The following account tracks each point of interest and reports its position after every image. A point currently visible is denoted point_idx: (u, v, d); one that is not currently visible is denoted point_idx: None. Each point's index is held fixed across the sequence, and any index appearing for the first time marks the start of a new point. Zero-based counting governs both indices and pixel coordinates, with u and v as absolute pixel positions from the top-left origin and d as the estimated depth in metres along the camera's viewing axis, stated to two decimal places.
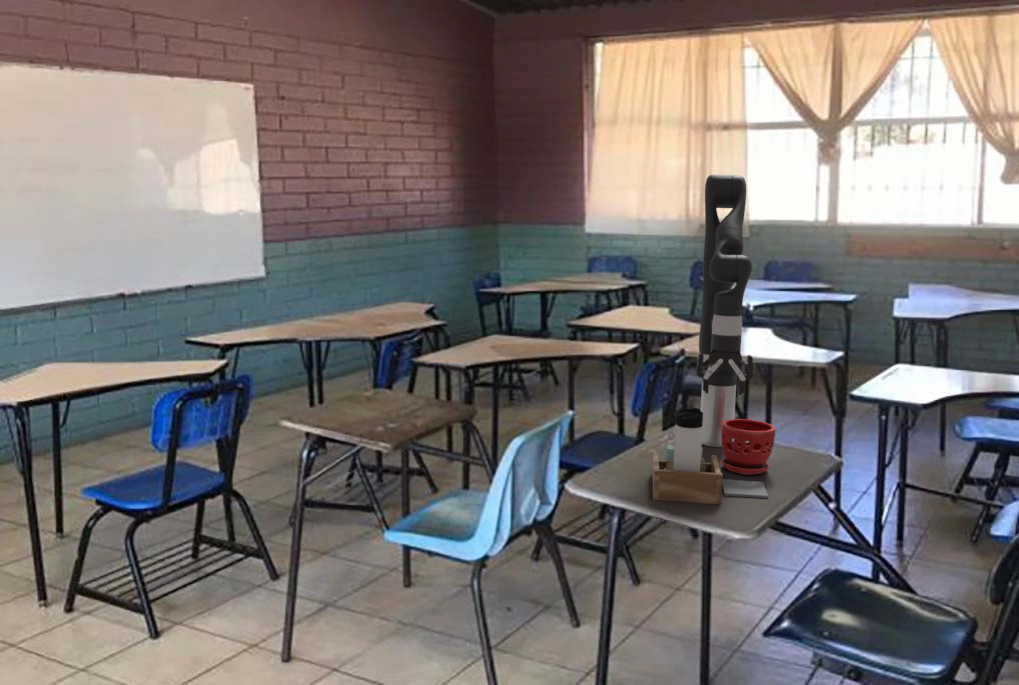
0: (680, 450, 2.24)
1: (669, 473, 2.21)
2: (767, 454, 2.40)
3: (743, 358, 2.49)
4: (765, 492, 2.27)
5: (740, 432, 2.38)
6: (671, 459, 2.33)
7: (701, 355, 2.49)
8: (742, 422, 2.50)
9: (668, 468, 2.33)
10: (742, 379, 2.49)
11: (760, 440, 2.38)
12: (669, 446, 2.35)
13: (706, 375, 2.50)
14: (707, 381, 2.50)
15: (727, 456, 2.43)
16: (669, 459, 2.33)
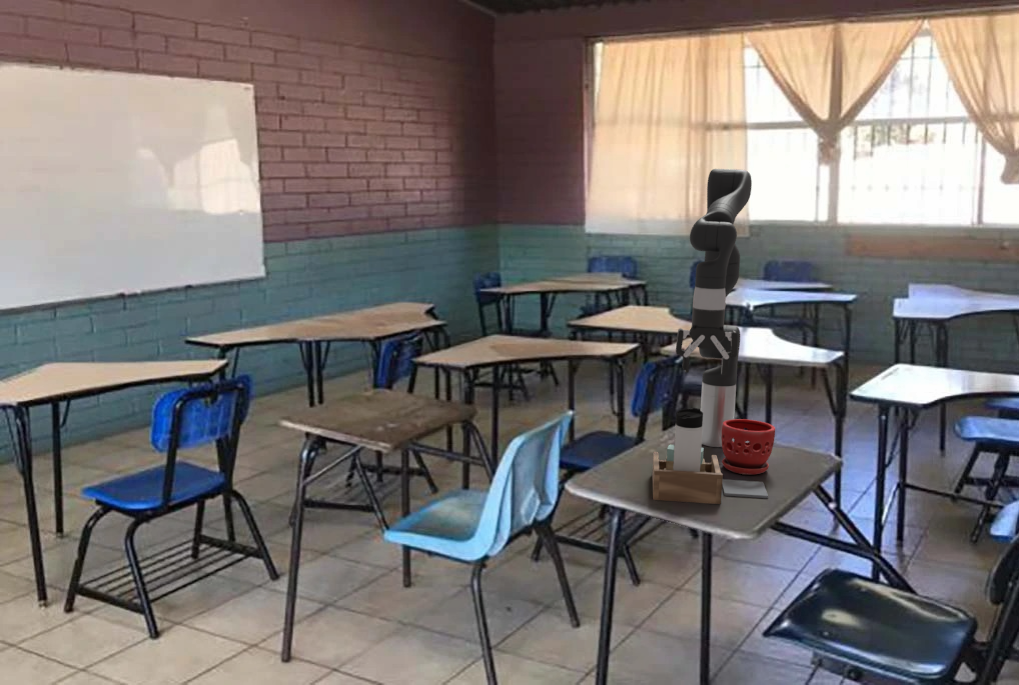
0: (680, 450, 2.24)
1: (669, 473, 2.21)
2: (767, 454, 2.40)
3: (727, 334, 2.29)
4: (765, 492, 2.27)
5: (740, 432, 2.38)
6: (671, 459, 2.33)
7: (681, 331, 2.29)
8: (742, 422, 2.50)
9: (668, 468, 2.33)
10: (725, 357, 2.29)
11: (760, 440, 2.38)
12: (670, 446, 2.35)
13: (686, 353, 2.30)
14: (687, 359, 2.30)
15: (727, 456, 2.43)
16: (669, 459, 2.33)
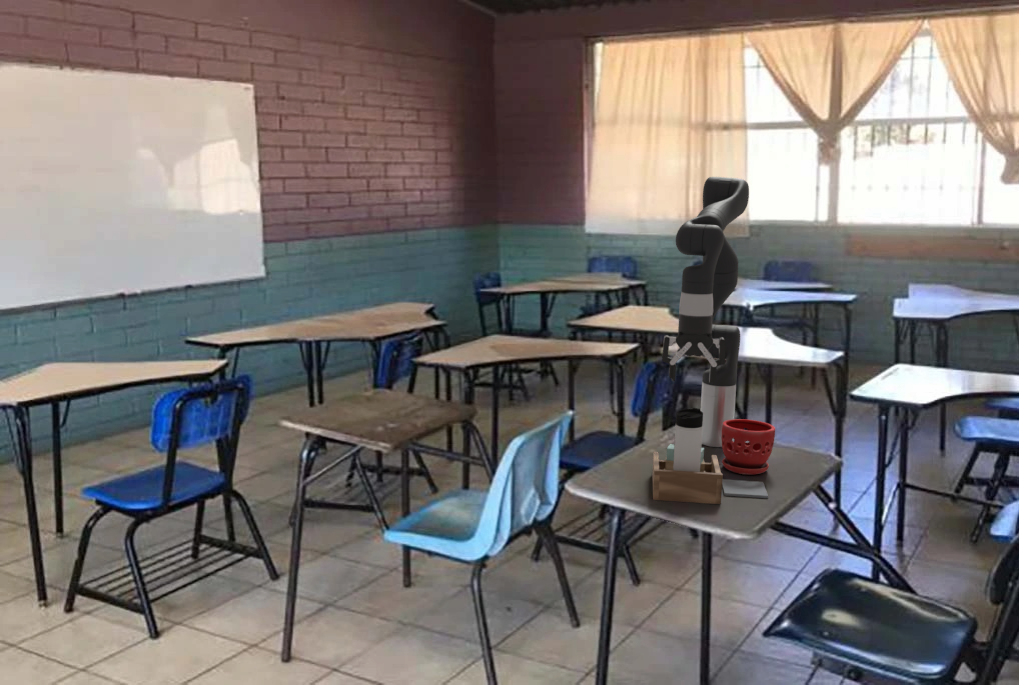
0: (680, 450, 2.24)
1: (669, 473, 2.21)
2: (767, 454, 2.40)
3: (714, 341, 2.20)
4: (765, 492, 2.27)
5: (740, 432, 2.38)
6: (671, 458, 2.34)
7: (667, 338, 2.21)
8: (742, 422, 2.50)
9: (667, 468, 2.33)
10: (713, 365, 2.20)
11: (760, 440, 2.38)
12: (670, 445, 2.35)
13: (673, 360, 2.22)
14: (674, 367, 2.22)
15: (727, 456, 2.43)
16: (669, 458, 2.34)
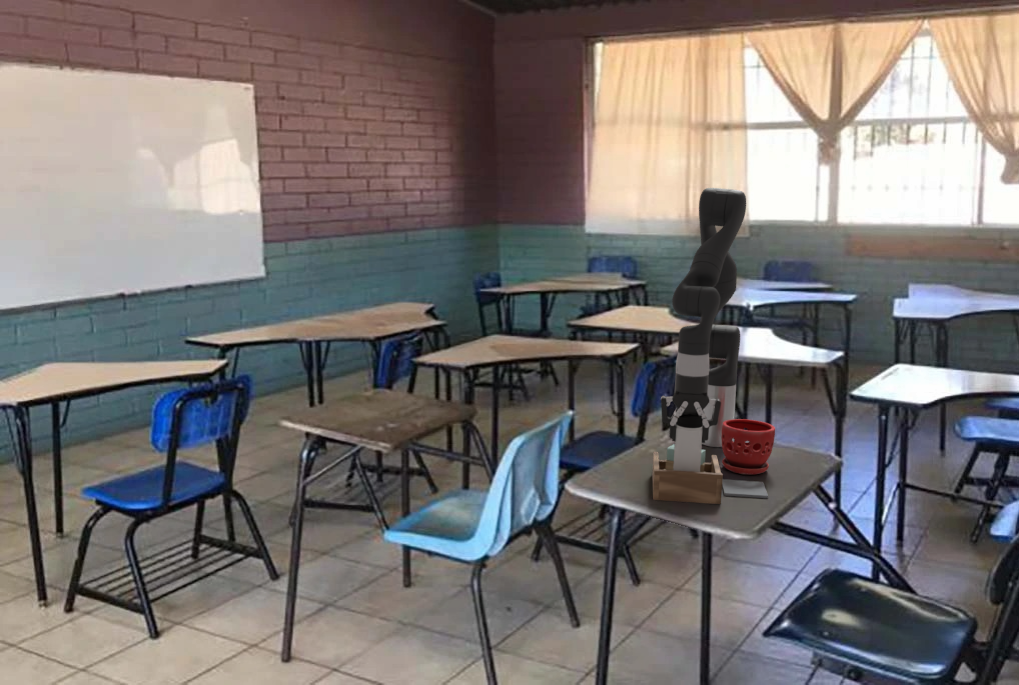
0: (681, 450, 2.24)
1: (669, 473, 2.21)
2: (767, 454, 2.40)
3: (710, 401, 2.23)
4: (765, 492, 2.27)
5: (740, 432, 2.38)
6: (671, 459, 2.34)
7: (663, 399, 2.23)
8: (742, 422, 2.50)
9: (667, 468, 2.33)
10: (705, 425, 2.23)
11: (760, 440, 2.38)
12: (672, 446, 2.36)
13: (673, 421, 2.24)
14: (674, 428, 2.24)
15: (727, 456, 2.43)
16: (669, 458, 2.34)
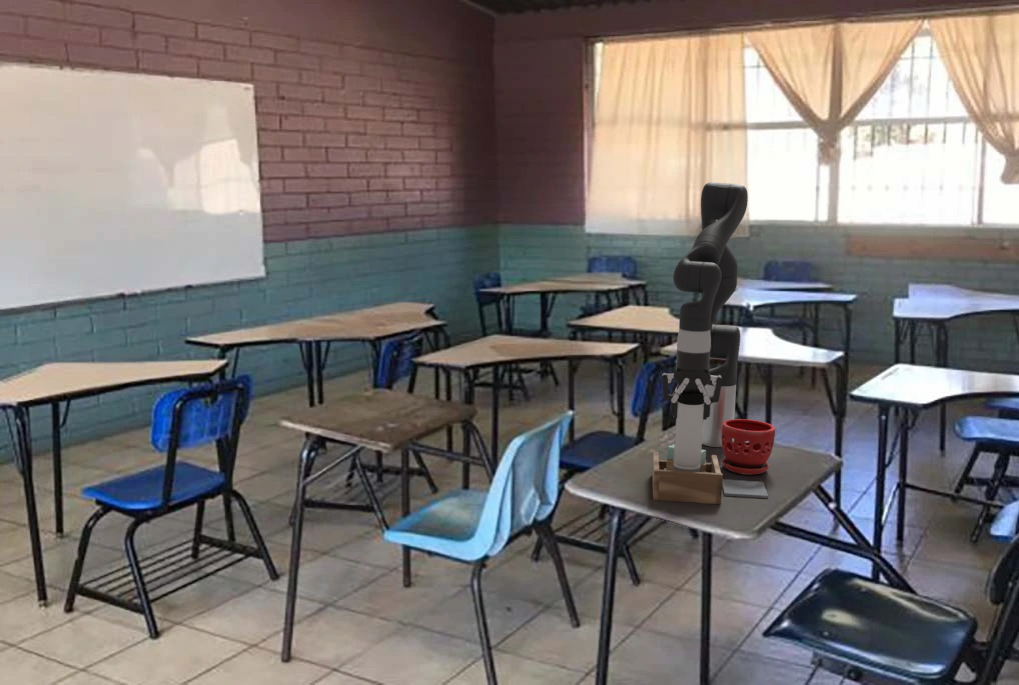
0: (682, 427, 2.23)
1: (669, 473, 2.21)
2: (767, 454, 2.40)
3: (712, 378, 2.22)
4: (765, 492, 2.27)
5: (740, 432, 2.38)
6: (671, 457, 2.34)
7: (665, 376, 2.22)
8: (742, 422, 2.50)
9: (667, 468, 2.33)
10: (707, 402, 2.22)
11: (760, 440, 2.38)
12: (673, 445, 2.36)
13: (674, 398, 2.23)
14: (675, 405, 2.24)
15: (727, 456, 2.43)
16: (669, 457, 2.35)
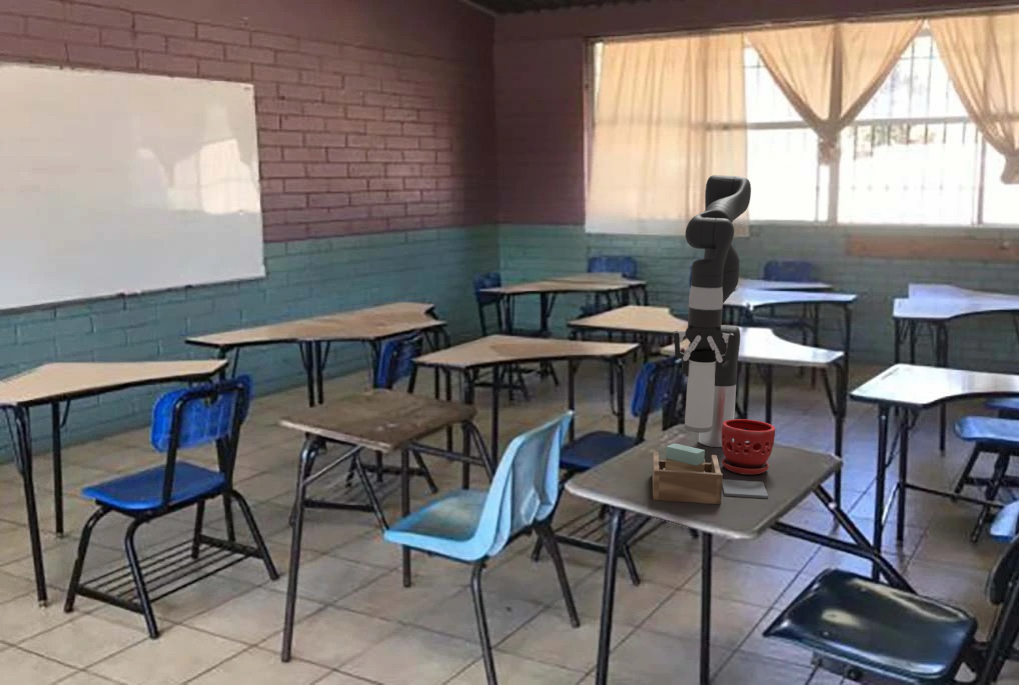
0: (693, 385, 2.21)
1: (669, 473, 2.21)
2: (767, 454, 2.40)
3: (724, 336, 2.20)
4: (765, 492, 2.27)
5: (740, 432, 2.38)
6: (670, 457, 2.34)
7: (676, 334, 2.21)
8: (742, 422, 2.50)
9: (666, 467, 2.33)
10: (719, 360, 2.21)
11: (760, 440, 2.38)
12: (672, 444, 2.36)
13: (686, 356, 2.22)
14: (687, 363, 2.22)
15: (727, 456, 2.43)
16: (668, 457, 2.35)
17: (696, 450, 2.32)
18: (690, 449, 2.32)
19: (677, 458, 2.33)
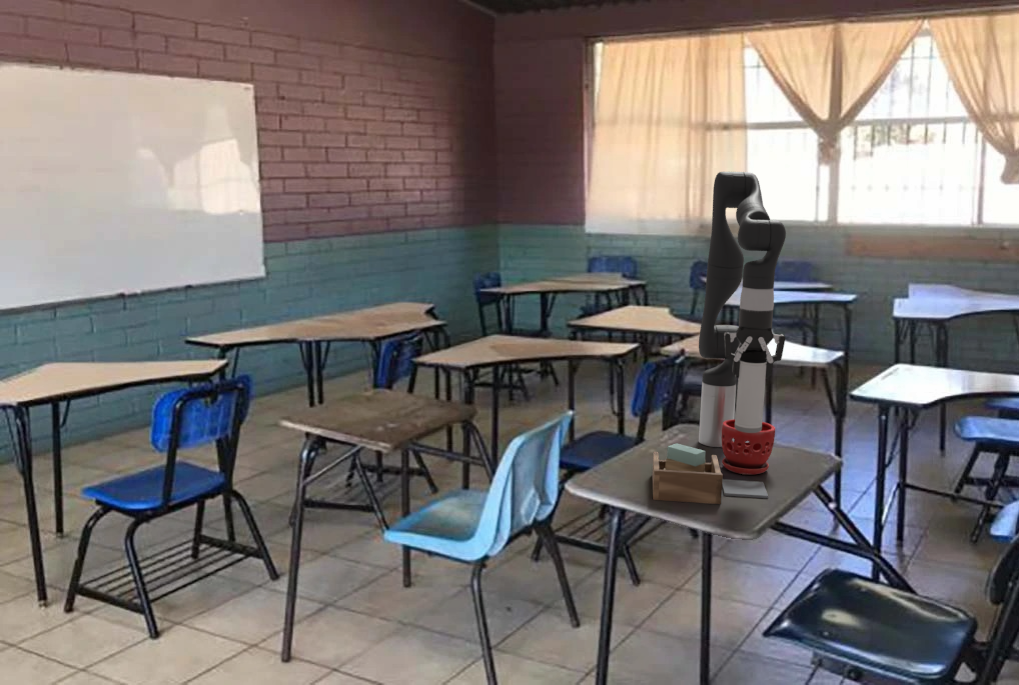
0: (745, 386, 2.23)
1: (669, 473, 2.21)
2: (767, 454, 2.40)
3: (774, 337, 2.23)
4: (765, 492, 2.27)
5: (740, 432, 2.38)
6: (671, 457, 2.34)
7: (727, 335, 2.23)
8: None
9: (666, 467, 2.33)
10: (769, 361, 2.23)
11: (760, 440, 2.38)
12: (674, 445, 2.36)
13: (737, 357, 2.24)
14: (738, 364, 2.24)
15: (727, 456, 2.43)
16: (669, 457, 2.35)
17: (696, 451, 2.31)
18: (691, 450, 2.32)
19: (678, 458, 2.33)
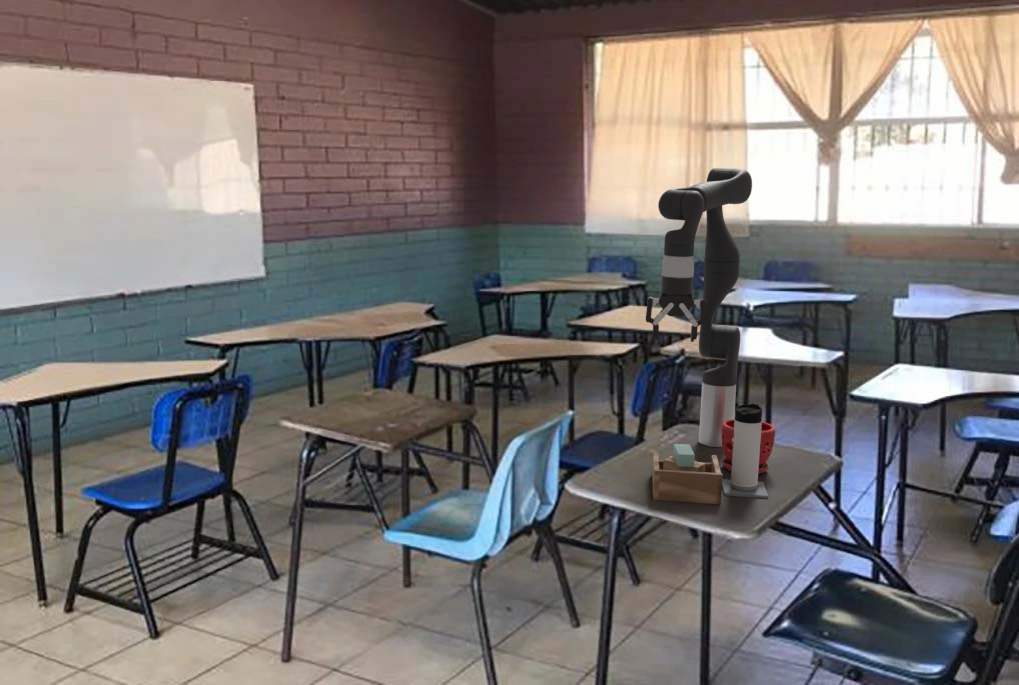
0: (740, 445, 2.26)
1: (669, 473, 2.21)
2: (767, 454, 2.40)
3: (695, 302, 2.31)
4: (765, 492, 2.27)
5: None
6: (674, 455, 2.36)
7: (650, 299, 2.32)
8: None
9: (664, 466, 2.34)
10: (694, 325, 2.32)
11: (760, 440, 2.38)
12: (683, 444, 2.37)
13: (656, 321, 2.33)
14: (657, 327, 2.33)
15: (727, 456, 2.43)
16: (673, 454, 2.37)
17: (686, 452, 2.30)
18: (684, 450, 2.32)
19: (675, 457, 2.34)
